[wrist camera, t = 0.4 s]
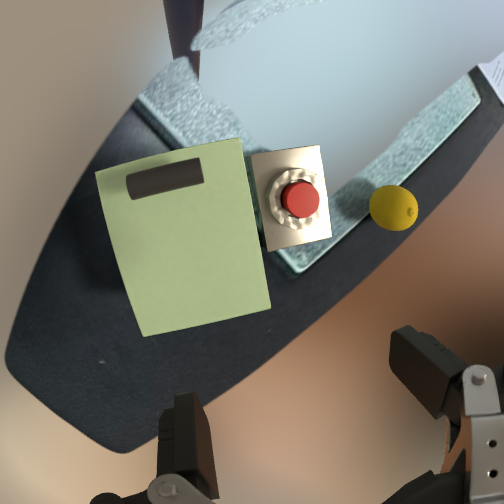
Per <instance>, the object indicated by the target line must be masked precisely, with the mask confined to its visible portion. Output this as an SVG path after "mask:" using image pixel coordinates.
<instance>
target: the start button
mask: <svg viewBox="0 0 504 504" xmlns="http://www.w3.org/2000/svg"><path fill="white" fill-rule="evenodd" d="M282 202H283V206H284V208H285V209H286V210H287V211H288V212H289V213H290V214H292V215H294V216H297V217H300V218H306V217H309V216H311V215H313V214H314V213H315V212H316V211H317V209H318V207H319V203H320V197H319V193H318V191H317V189H316V188H315V187H314V186H312V185H311V184H308V183H303V182H295V183H292V184H290V185H289V186H288V187H287V188H286V189H285V191H284V193H283V196H282Z"/></svg>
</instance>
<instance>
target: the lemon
mask: <svg viewBox="0 0 504 504" xmlns="http://www.w3.org/2000/svg"><path fill="white" fill-rule="evenodd" d="M369 211H370V214H371V216H372V218H373V220H374V221H375V222H376V223H377V224H378V225H379V226H381V227H383V228H385V229H388V230H393V231H399V230H404V229H407V228H408V227H410V226H411V225H412V224H413V223H414V222H415V220H416V218H417V214H418V205H417V202H416V199H415V198H414V196H413V195H412V194H411V193H410V192H409V191H408V190H406V189H404V188H402V187H400V186H396V185H386V186H382V187H380V188H379V189H377V190H376V191H375V192H374V193H373V195H372V196H371V198H370V201H369Z"/></svg>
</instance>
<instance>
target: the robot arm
mask: <svg viewBox="0 0 504 504" xmlns="http://www.w3.org/2000/svg"><path fill="white" fill-rule="evenodd" d="M389 365H390V368H391V370H392V372H393V373H394V374H395V375H396V376H397V377H398V379H399V380H400V381H401V382H402V383H403V384H404V385H405V386H406V387H407V388H408V390H409V391H410V392H411V393H412V394H413V395H414V396H415V397H416V398H417V400H418V401H419V402H420V403H421V404H422V405H423V406H424V407H425V408H426V409H427V411H428V412H429V413H430V414H431V415H432V416H433V417H434V419H436V420H437V419H438V418H440V417H442V416H443V415H446V416H447V417H448V418H447V421H446V441H445V457H444V462H443V465H442V468H441V471H440V474H436V475H434V474H433V472H432V471H431V470H429V471H428V472H426V473H425V474H423V475H421V476H420V477H418V478H416V479H414V480H412V481H411V482H409V483H407V484H405V485H404V486H403V487H402V488H401V489H399V490H398V491H397V492H396V493H395V494H393V495H392V496H391V497H390V498H388V499H387V500H386V501H385V502H383V503H382V504H504V365H502V366H499V367H496V368H493V369H490V368H488V367H486V366H484V365H472V366H469V365H468V364H467V363H465V362H464V361H463V360H462V359H460V358H459V357H458V356H457V355H456V354H454V353H453V352H452V351H451V350H449V349H448V348H446V346H444V345H443V344H442V343H441V344H440V342H439V341H438V340H437V339H436V338H434V337H433V336H432V335H429V334H426V333H424V332H420V333H419V332H418V331H416V330H415V329H414V328H413V327H411V326H409V325H407V326H404V327H402V328H400V329H397V330H395V331H393V332H392V334H391V341H390V354H389ZM158 440H159V442H158V453H157V454H158V455H157V475H156V478H155V479H154V480H153V481H152V482H151V483H150V484H149V486H148V489H147V490H145V491H143V492H140V493H138V494H135V495H131V496H128V497H125V498H120V496H118V495H116V494H114V493H102V494H99V495H97V496H95V497H94V498H93V499H92V500H91V502H90V504H215V503H214V502H212V501H211V500H213V499H219V492H218V485H217V478H216V471H215V465H214V458H213V449H212V441H211V432H210V426H209V423H208V419H207V417H206V414H205V412H204V410H203V407H202V405H201V403H200V401H199V398H198V396H197V394H196V392H195V391H189V392H184V393H178V394H175V404H174V408H169V409H165V410H164V412H163V414H162V416H161V417H160V419H159V433H158Z"/></svg>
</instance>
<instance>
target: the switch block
mask: <svg viewBox="0 0 504 504" xmlns="http://www.w3.org/2000/svg"><path fill="white" fill-rule="evenodd" d="M247 159H248V164H249V169H250V175H251V180H252V185H253V191H254V196H255V202H256V207H257V213H258V218H259V224H260V229H261V235H262V241H263V246H264V248H265V249H266V250H267V252H271V251H275V250H279V249H284V248H288V247H292V246H297V245H301V244H305V243H310V242H314V241H318V240H322V239H327V238H331V237H332V233H331V225H330V216H329V208H328V199H327V192H326V186H325V180H324V173H323V167H322V161H321V154H320V149H319V145H312V146H304V147H296V148H289V149H282V150H275V151H269V152H263V153H257V154H251V155H248V156H247ZM295 182H303V183H308V184H311V185H312V186H314V187H315V188H316V189H317V191H318V193H319V197H320V203H319V207H318V209H317V211H316V212H315V213H314V214H313V215H311V216H309V217H306V218H300V217H297V216H294V215H292V214H290V213H289V212H288V211H287V210H286V209H285V208H284V206H283V202H282V196H283V193H284V191H285V189H286V188H287V187H288V186H289V185H290V184H292V183H295Z"/></svg>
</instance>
